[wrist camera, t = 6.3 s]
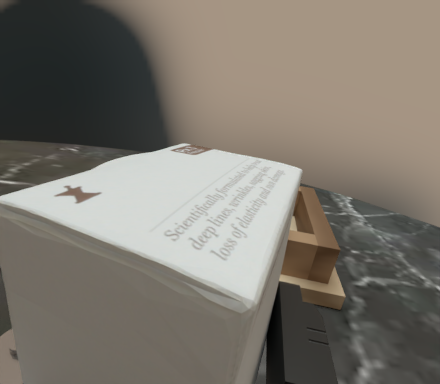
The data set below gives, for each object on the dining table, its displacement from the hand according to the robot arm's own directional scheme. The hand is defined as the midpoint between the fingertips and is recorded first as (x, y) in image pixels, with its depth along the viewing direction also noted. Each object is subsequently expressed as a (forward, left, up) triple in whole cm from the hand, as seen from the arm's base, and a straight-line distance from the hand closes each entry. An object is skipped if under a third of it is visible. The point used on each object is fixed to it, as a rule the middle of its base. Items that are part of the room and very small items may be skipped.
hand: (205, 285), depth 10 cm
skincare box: (0, -3, -7) cm, 8 cm away
